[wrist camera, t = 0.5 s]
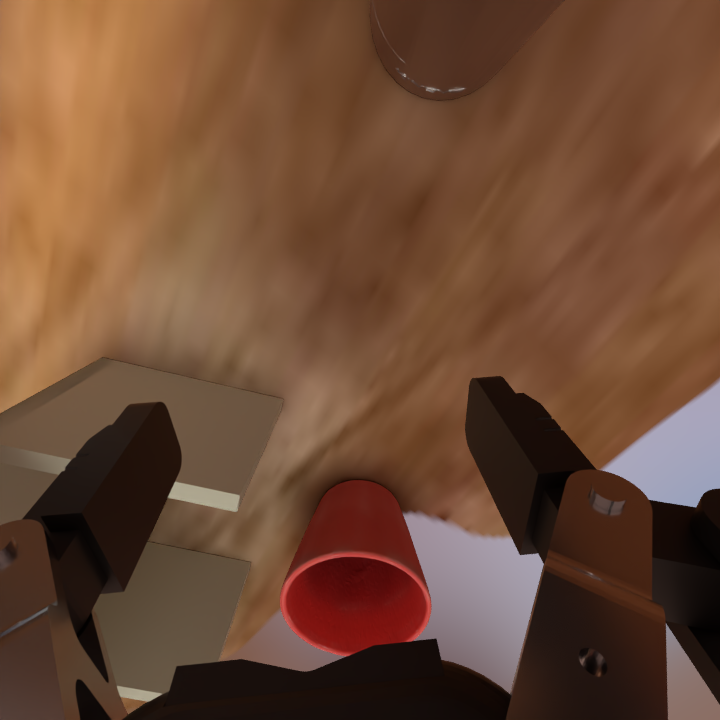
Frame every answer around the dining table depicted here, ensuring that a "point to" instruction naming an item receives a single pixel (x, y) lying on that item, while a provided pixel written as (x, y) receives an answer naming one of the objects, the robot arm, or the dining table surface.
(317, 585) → the flower pot
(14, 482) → the cold frame
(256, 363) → the dining table surface
